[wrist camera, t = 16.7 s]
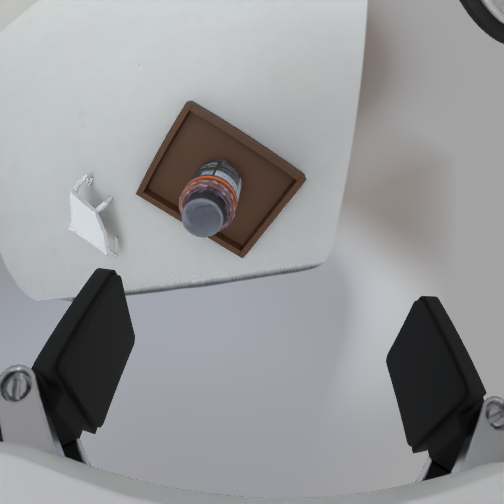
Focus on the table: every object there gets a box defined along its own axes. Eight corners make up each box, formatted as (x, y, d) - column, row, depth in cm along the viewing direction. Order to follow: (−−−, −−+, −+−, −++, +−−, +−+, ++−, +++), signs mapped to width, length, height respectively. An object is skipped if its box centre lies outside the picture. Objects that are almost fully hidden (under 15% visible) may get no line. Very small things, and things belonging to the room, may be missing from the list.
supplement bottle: (213, 210, 40) (196, 257, 30) (186, 174, 37) (157, 211, 28) (252, 186, 38) (246, 228, 28) (224, 148, 35) (207, 176, 26)
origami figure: (64, 201, 41) (46, 215, 36) (93, 167, 38) (75, 179, 33) (113, 256, 45) (100, 275, 41) (146, 229, 42) (134, 246, 38)
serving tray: (304, 174, 37) (306, 179, 35) (244, 250, 43) (242, 258, 42) (191, 100, 33) (186, 101, 31) (141, 188, 39) (135, 194, 37)
